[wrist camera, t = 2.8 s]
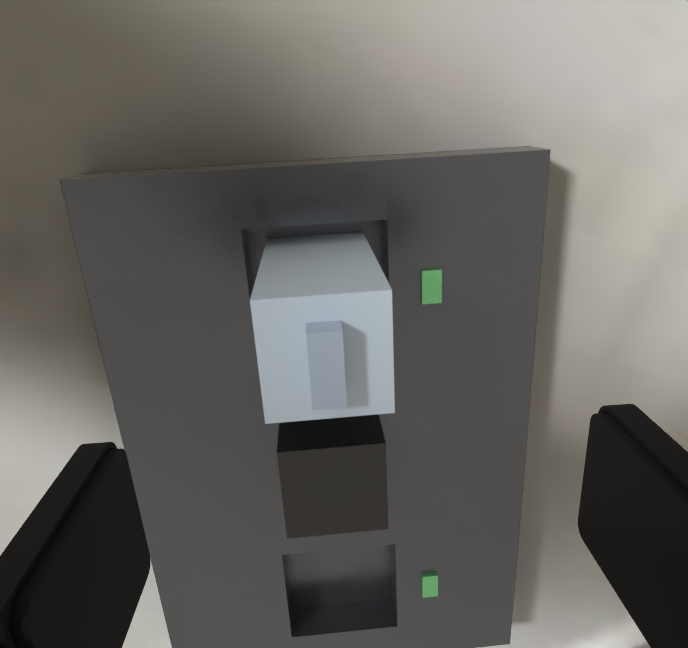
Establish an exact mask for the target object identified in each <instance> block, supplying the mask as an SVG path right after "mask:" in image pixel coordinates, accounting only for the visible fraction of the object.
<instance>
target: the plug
mask: <svg viewBox="0 0 688 648" xmlns="http://www.w3.org/2000/svg"><path fill="white" fill-rule="evenodd" d="M250 306H251V314H252V322H253V330H254V338H255V346H256V354H257V362H258V370H259V378H260V386H261V394H262V402H263V410H264V418H265V424H270V423H282V422H293V421H305V420H317V419H329V418H341V417H353V416H364V415H376V414H388V413H395V398H394V354H393V309H392V289H391V287H390V285H389V283H388V281H387V279H386V277H385V275H384V273H383V271H382V269H381V267H380V265H379V263H378V261H377V259H376V257H375V255H374V253H373V251H372V249H371V247H370V245H369V243H368V241H367V239H366V237H365V235H364V233H363V232H354V233H339V234H325V235H310V236H296V237H281V238H267V241H266V245H265V248H264V252H263V255H262V259H261V262H260V266H259V269H258V273H257V277H256V280H255V284H254V287H253V291H252V294H251V298H250Z"/></svg>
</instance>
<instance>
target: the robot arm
mask: <svg viewBox="0 0 688 648" xmlns="http://www.w3.org/2000/svg"><path fill="white" fill-rule="evenodd" d="M578 528H579V532H580V535H581V537H582V539H583V541H584V543H585V544H586V546H587V548H588V549H589V551H590V552H591V554H592V555H593V557H594V559H595V560H596V562H597V563H598V565H599V566H600V568H601V570H602V571H603V573H604V574H605V576H606V578H607V579H608V581H609V582H610V584H611V585H612V587H613V589H614V590H615V592H616V593H617V595H618V596H619V598H620V600H621V601H622V603H623V604H624V606H625V608H626V609H627V611H628V612H629V614H630V615H631V617H632V619H633V620H634V622H635V623H636V625H637V626H638V628H639V630H640V631H641V633H642V634H643V636H644V638H645V639H646V641H647V642H648V644H649V645H650V647H651V648H688V452H687V451H686V450H685V449H684V448H682V447H681V446H680V445H679V444H678V443H677V442H676V441H675V440H673V439H672V438H671V437H670V436H669V435H668V434H667V433H666V432H665V431H663V430H662V429H661V428H660V427H659V426H658V425H657V424H656V423H655V422H653V421H652V420H651V419H650V418H649V417H648V416H647V415H646V414H645V413H643V412H642V411H641V410H640V409H639V408H638V407H637V406H635V405H633V404H622V405H608V406H603V407H601V408H600V410H599V412H598V413H597V414H593V415H592V417H591V420H590V428H589V436H588V444H587V452H586V460H585V468H584V476H583V484H582V492H581V500H580V508H579V516H578ZM149 570H150V552H149V548H148V544H147V540H146V535H145V531H144V527H143V523H142V518H141V514H140V510H139V506H138V501H137V497H136V493H135V488H134V484H133V480H132V476H131V471H130V467H129V463H128V459H127V455H126V452H125V450H124V449H117V447H116V445H115V444H114V443H113V442H105V443H91V444H83V445H81V446H80V447H79V448H78V449H77V450H76V452H75V453H74V454H73V456H72V457H71V459H70V460H69V461H68V463H67V464H66V466H65V467H64V468H63V470H62V471H61V472H60V474H59V475H58V477H57V478H56V479H55V481H54V482H53V484H52V485H51V486H50V488H49V489H48V491H47V492H46V493H45V495H44V496H43V497H42V499H41V500H40V502H39V503H38V504H37V506H36V507H35V509H34V510H33V511H32V513H31V514H30V516H29V517H28V518H27V520H26V521H25V522H24V524H23V525H22V527H21V528H20V529H19V531H18V532H17V534H16V535H15V536H14V538H13V539H12V540H11V542H10V543H9V545H8V546H7V547H6V549H5V550H4V552H3V553H2V554H1V556H0V648H122V645H123V643H124V640H125V637H126V635H127V632H128V629H129V626H130V624H131V621H132V618H133V615H134V613H135V610H136V607H137V605H138V602H139V599H140V596H141V594H142V591H143V588H144V585H145V583H146V580H147V577H148V574H149Z"/></svg>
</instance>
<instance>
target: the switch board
mask: <svg viewBox="0 0 688 648" xmlns="http://www.w3.org/2000/svg"><path fill="white" fill-rule="evenodd" d="M549 160H550V149H543V148H537V147H530V146H522V147H506V148H490V149H474V150H458V151H442V152H426V153H410V154H394V155H378V156H361V157H345V158H329V159H313V160H297V161H281V162H265V163H249V164H233V165H217V166H201V167H184V168H168V169H152V170H136V171H120V172H104V173H88V174H80V175H77V176H73V177H70V178H66V179H62V180H60V183H61V187H62V191H63V195H64V200H65V204H66V208H67V212H68V216H69V220H70V225H71V229H72V233H73V237H74V241H75V245H76V250H77V254H78V258H79V262H80V266H81V270H82V275H83V279H84V283H85V287H86V291H87V295H88V300H89V304H90V308H91V312H92V316H93V320H94V325H95V329H96V333H97V337H98V341H99V345H100V349H101V354H102V358H103V362H104V366H105V370H106V374H107V379H108V383H109V387H110V391H111V395H112V399H113V404H114V408H115V412H116V416H117V420H118V424H119V429H120V433H121V437H122V441H123V445H124V449H125V452H126V455H127V459H128V463H129V467H130V471H131V476H132V480H133V484H134V488H135V493H136V497H137V501H138V506H139V510H140V514H141V518H142V523H143V527H144V531H145V535H146V540H147V544H148V548H149V552H150V558H151V562H152V566H153V570H154V574H155V578H156V583H157V587H158V591H159V595H160V599H161V603H162V608H163V612H164V616H165V620H166V624H167V628H168V633H169V637H170V641H171V645H172V648H476V647H485V646H495V645H504V644H510V635H511V623H512V611H513V599H514V587H515V574H516V562H517V550H518V538H519V526H520V514H521V501H522V489H523V477H524V465H525V453H526V440H527V428H528V416H529V404H530V392H531V379H532V367H533V355H534V343H535V331H536V319H537V306H538V294H539V282H540V270H541V258H542V245H543V233H544V221H545V209H546V197H547V185H548V172H549ZM354 232H363V233H364V235H365V237H366V239H367V241H368V243H369V245H370V247H371V249H372V251H373V253H374V255H375V257H376V259H377V261H378V263H379V265H380V267H381V269H382V271H383V273H384V275H385V277H386V279H387V281H388V283H389V285H390V287H391V289H392V309H393V354H394V398H395V413H388V414H376V415H364V416H353V417H341V418H329V419H317V420H305V421H293V422H282V423H270V424H265V418H264V410H263V402H262V394H261V386H260V378H259V370H258V362H257V354H256V346H255V338H254V330H253V322H252V314H251V306H250V298H251V294H252V291H253V287H254V284H255V280H256V277H257V273H258V269H259V266H260V262H261V259H262V255H263V252H264V248H265V245H266V241H267V238H281V237H296V236H310V235H325V234H339V233H354Z"/></svg>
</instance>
